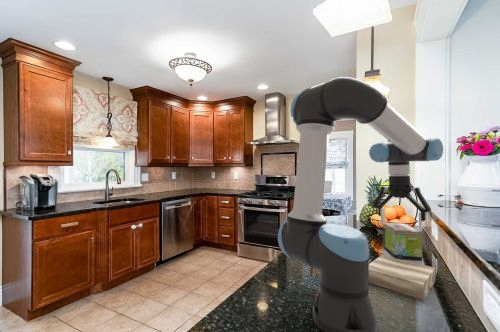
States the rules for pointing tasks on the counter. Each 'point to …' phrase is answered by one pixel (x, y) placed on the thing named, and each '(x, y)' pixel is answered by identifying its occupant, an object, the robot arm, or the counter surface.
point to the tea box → (402, 242)
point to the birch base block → (402, 276)
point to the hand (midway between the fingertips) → (401, 226)
